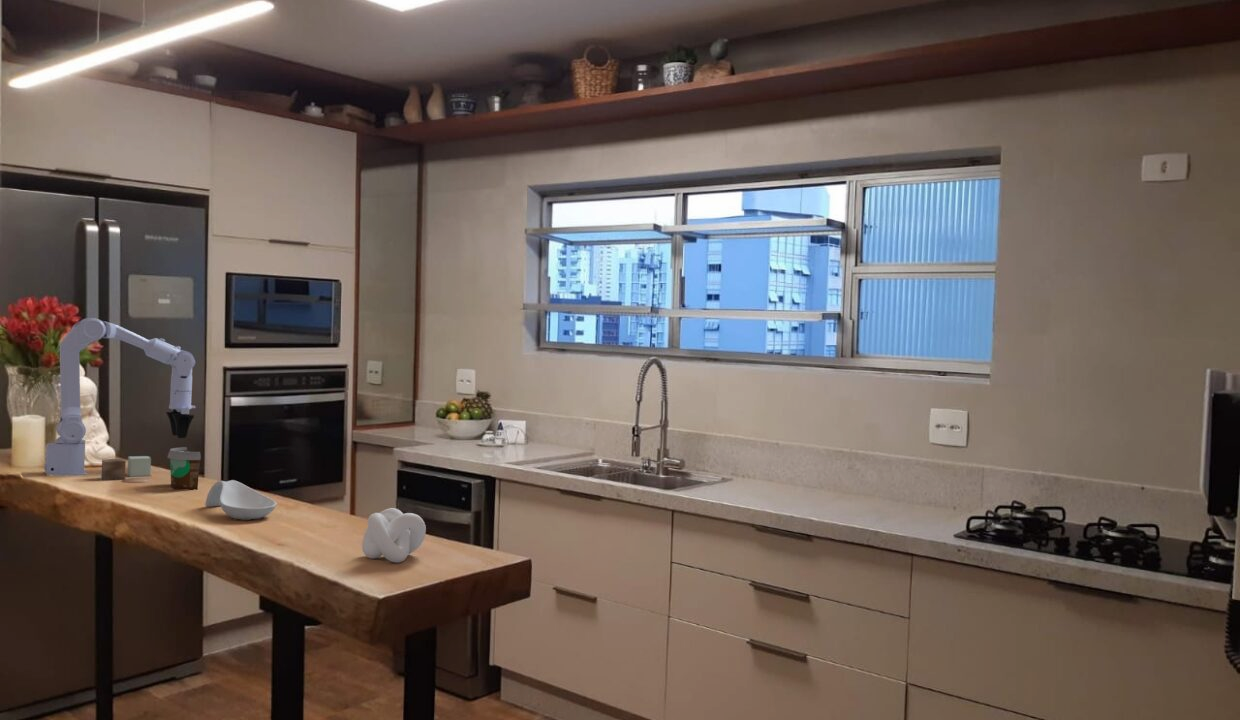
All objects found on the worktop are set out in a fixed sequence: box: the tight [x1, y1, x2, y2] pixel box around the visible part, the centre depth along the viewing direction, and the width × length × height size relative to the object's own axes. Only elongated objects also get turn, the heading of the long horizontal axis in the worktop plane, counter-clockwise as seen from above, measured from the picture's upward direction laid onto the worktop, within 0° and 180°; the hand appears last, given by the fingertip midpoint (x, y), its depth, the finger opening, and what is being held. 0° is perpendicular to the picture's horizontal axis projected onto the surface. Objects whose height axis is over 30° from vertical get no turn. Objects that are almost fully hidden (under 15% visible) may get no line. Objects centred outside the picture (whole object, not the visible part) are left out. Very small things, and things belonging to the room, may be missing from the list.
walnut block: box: [100, 458, 127, 481], centre depth 246 cm, size 5×5×5 cm
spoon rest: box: [204, 479, 277, 521], centre depth 207 cm, size 24×12×7 cm, turn 48°
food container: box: [167, 446, 202, 491], centre depth 239 cm, size 12×6×10 cm, turn 42°
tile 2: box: [125, 473, 153, 478], centre depth 254 cm, size 6×6×1 cm
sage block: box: [126, 455, 152, 478], centre depth 254 cm, size 5×5×5 cm
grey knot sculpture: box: [361, 507, 427, 564], centre depth 172 cm, size 11×12×9 cm
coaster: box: [122, 477, 153, 484], centre depth 244 cm, size 7×7×1 cm
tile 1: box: [99, 477, 127, 482], centre depth 246 cm, size 6×6×1 cm
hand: (179, 436), depth 268 cm, fingers open, 7 cm apart
